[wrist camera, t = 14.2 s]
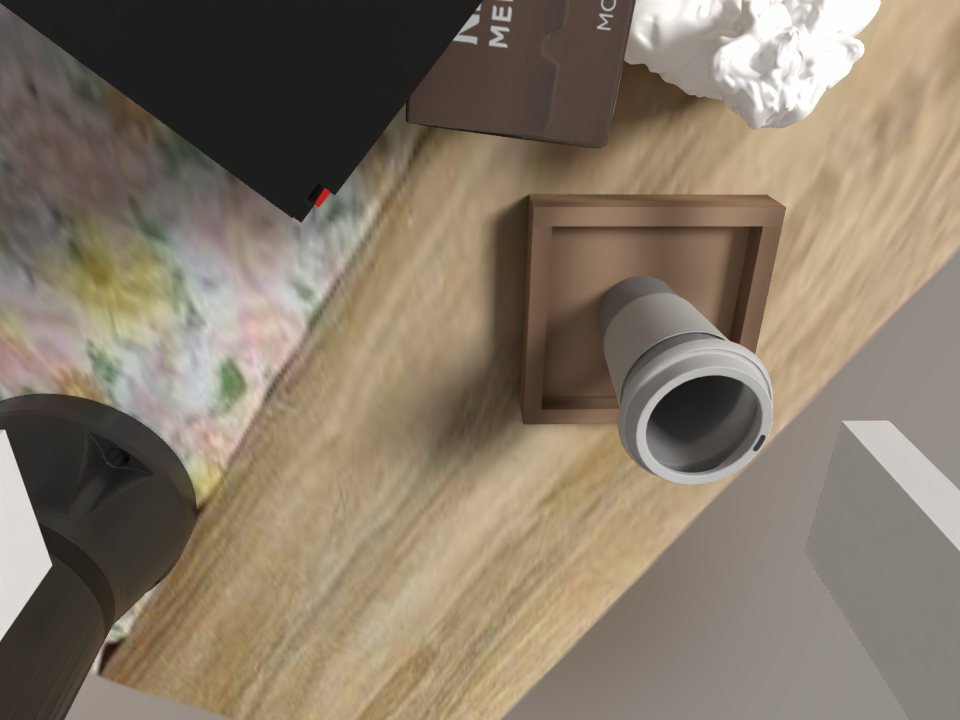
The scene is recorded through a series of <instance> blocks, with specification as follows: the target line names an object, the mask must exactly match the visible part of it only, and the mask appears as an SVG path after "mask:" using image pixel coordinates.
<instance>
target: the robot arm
mask: <svg viewBox="0 0 960 720" xmlns="http://www.w3.org/2000/svg"><path fill="white" fill-rule="evenodd" d="M195 520H196V498H195V492H194V489H193V485H192V482H191V480H190V477H189V475H188V473H187V471H186V469H185V468H184V466H183V464H182V463H181V461H180V460H179V458H178V457H177V455H176V454H175V453H174V452H173V450H172V449H171V448H170V447H169V446H168V445H167V444H166V443H165V442H164V441H163V440H162V439H161V438H160V437H159V436H158V435H157V434H155V433H154V432H153V431H152V430H150V429H149V428H148V427H146V426H145V425H143V424H142V423H141V422H139V421H137V420H136V419H134V418H132V417H131V416H129V415H127V414H125V413H123V412H121V411H119V410H117V409H114V408H112V407H110V406H107V405H105V404H102V403H99V402H96V401H92V400H88V399H85V398H80V397H75V396H68V395H60V394H32V395H24V396H18V397H14V398H10V399H6V400H3V401H1V402H0V720H65V718H66V716H67V714H68V711H69V710H70V708H71V706H72V704H73V702H74V700H75V698H76V696H77V694H78V692H79V690H80V688H81V686H82V684H83V682H84V680H85V678H86V676H87V674H88V672H89V670H90V668H91V666H92V664H93V662H94V660H95V658H96V656H97V655H98V653H99V651H100V648H101V646H102V645H103V643H104V641H105V639H106V637H107V635H108V633H109V631H110V630H111V628H112V626H113V625H114V624H115V623H116V622H117V621H118V620H119V619H120V618H121V617H122V616H123V615H124V614H125V613H126V612H127V611H128V610H129V609H130V608H131V607H132V606H133V605H134V604H135V603H136V602H137V601H138V600H139V599H140V598H141V597H142V596H143V595H144V594H145V593H146V592H148V591H150V590H151V589H153V588H154V587H155V586H156V585H157V584H158V583H160V582H161V581H162V580H163V579H164V578H165V577H166V576H167V575H168V574H169V573H170V572H171V570H172V569H173V568H174V566H175V565H176V563H177V562H178V560H179V559H180V557H181V555H182V553H183V550H184V548H185V546H186V544H187V542H188V540H189V538H190V536H191V534H192V531H193V528H194V524H195ZM804 553H805V554H806V556H807V557H808V559H809V560H810V562H811V564H812V565H813V567H814V569H815V570H816V572H817V573H818V575H819V576H820V578H821V580H822V581H823V583H824V585H825V586H826V588H827V589H828V591H829V592H830V594H831V596H832V597H833V599H834V600H835V602H836V603H837V605H838V607H839V608H840V610H841V611H842V613H843V615H844V616H845V618H846V620H847V621H848V623H849V624H850V626H851V627H852V629H853V631H854V632H855V634H856V635H857V637H858V638H859V640H860V642H861V643H862V645H863V647H864V648H865V650H866V651H867V653H868V655H869V656H870V658H871V659H872V661H873V662H874V664H875V666H876V667H877V669H878V670H879V672H880V674H881V675H882V677H883V678H884V680H885V681H886V683H887V685H888V686H889V688H890V690H891V691H892V693H893V694H894V696H895V698H896V699H897V701H898V702H899V704H900V705H901V707H902V709H903V710H904V712H905V713H906V715H907V717H908V718H909V720H960V491H959V490H958V489H957V488H956V487H955V486H954V485H953V484H952V483H951V482H950V481H949V480H948V479H947V478H946V477H945V476H944V475H943V474H942V473H941V472H940V471H939V470H938V469H937V468H936V467H935V466H934V465H933V464H932V463H931V462H930V461H929V460H928V459H927V458H926V457H925V456H924V455H923V454H922V453H921V452H920V451H919V450H918V449H917V448H916V447H915V446H914V445H913V444H912V443H911V442H909V440H907V438H906V437H905V436H904V435H902V433H901V432H900V431H899V430H897V428H896V427H894V426H893V425H892V424H891V423H890V422H889V421H842V423H841V426H840V430H839V433H838V437H837V440H836V444H835V447H834V451H833V454H832V458H831V461H830V464H829V468H828V472H827V475H826V478H825V482H824V485H823V489H822V492H821V496H820V499H819V502H818V506H817V509H816V513H815V516H814V520H813V523H812V526H811V530H810V533H809V537H808V540H807V544H806V547H805V551H804Z"/></svg>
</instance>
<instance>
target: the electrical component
mask: <svg viewBox="0 0 960 720" xmlns="http://www.w3.org/2000/svg"><path fill="white" fill-rule="evenodd" d="M482 1H483V0H0V3H1V4H2V5H4V6H5V7H6V8H8V9H9V10H11V11H12V12H13V13H15V14H16V15H17V16H19V17H20V18H21V19H23V20H24V21H25V22H27V23H28V24H30V25H31V26H32V27H34V28H35V29H36V30H38V31H39V32H40V33H42V34H43V35H44V36H46V37H47V38H49V39H50V40H51V41H53V42H54V43H55V44H57V45H58V46H59V47H61V48H62V49H63V50H65V51H66V52H68V53H69V54H70V55H72V56H73V57H74V58H76V59H77V60H78V61H80V62H81V63H82V64H84V65H85V66H87V67H88V68H89V69H91V70H92V71H93V72H95V73H96V74H97V75H99V76H100V77H101V78H103V79H104V80H105V81H107V82H108V83H110V84H111V85H112V86H114V87H115V88H116V89H118V90H119V91H120V92H122V93H123V94H124V95H126V96H127V97H129V98H130V99H131V100H133V101H134V102H135V103H137V104H138V105H139V106H141V107H142V108H143V109H145V110H146V111H148V112H149V113H150V114H152V115H153V116H154V117H156V118H157V119H158V120H160V121H161V122H162V123H164V124H165V125H167V126H168V127H169V128H171V129H172V130H173V131H175V132H176V133H177V134H179V135H180V136H181V137H183V138H184V139H186V140H187V141H188V142H190V143H191V144H192V145H194V146H195V147H196V148H198V149H199V150H200V151H202V152H203V153H205V154H206V155H207V156H209V157H210V158H211V159H213V160H214V161H215V162H217V163H218V164H219V165H221V166H222V167H223V168H225V169H226V170H228V171H229V172H230V173H232V174H233V175H234V176H236V177H237V178H238V179H240V180H241V181H242V182H244V183H245V184H247V185H248V186H249V187H251V188H252V189H253V190H255V191H256V192H257V193H259V194H260V195H261V196H263V197H264V198H266V199H267V200H268V201H270V202H271V203H272V204H274V205H275V206H276V207H278V208H279V209H280V210H282V211H283V212H285V213H286V214H287V215H289V216H290V217H291V218H293V217H294V218H295V219H297V220H298V221H299V222H302V221H303V220H304V218H305V217H306V216H307V214H308V213H309V212H310V210H311V209H312V208H313V206H314V205H316V206H318V207H319V206H320V205H321V204H322V203H323V201H324V200H325V199H326V197H327V196H328V195H329V194H330V192H331V193H332V194H334V195H335V194H336V193H337V192H338V191H339V189H340V188H341V187H342V185H343V184H344V183H345V181H346V180H347V179H348V177H349V176H350V175H351V173H352V172H353V171H354V170H355V168H356V167H357V166H358V164H359V163H360V162H361V160H362V159H363V158H364V156H365V155H366V154H367V152H368V151H369V150H370V149H371V147H372V146H373V145H374V143H375V142H376V141H377V139H378V138H379V137H380V135H381V134H382V133H383V131H384V130H385V129H386V127H387V126H388V125H389V124H390V122H391V121H392V120H393V118H394V117H395V116H396V114H397V113H398V112H399V110H400V109H401V108H402V106H403V105H404V104H405V103H406V101H407V100H408V99H409V97H410V96H411V95H412V93H413V92H414V91H415V89H416V88H417V87H418V85H419V84H420V83H421V82H422V80H423V79H424V78H425V76H426V75H427V74H428V72H429V71H430V70H431V68H432V67H433V66H434V64H435V63H436V62H437V61H438V59H439V58H440V57H441V55H442V54H443V53H444V51H445V50H446V49H447V47H448V46H449V45H450V43H451V42H452V41H453V40H454V38H455V37H456V36H457V34H458V33H459V32H460V30H461V29H462V28H463V26H464V25H465V24H466V22H467V21H468V20H469V19H470V17H471V16H472V15H473V13H474V12H475V11H476V9H477V8H478V7H479V5H480V4H481V3H482Z"/></svg>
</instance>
